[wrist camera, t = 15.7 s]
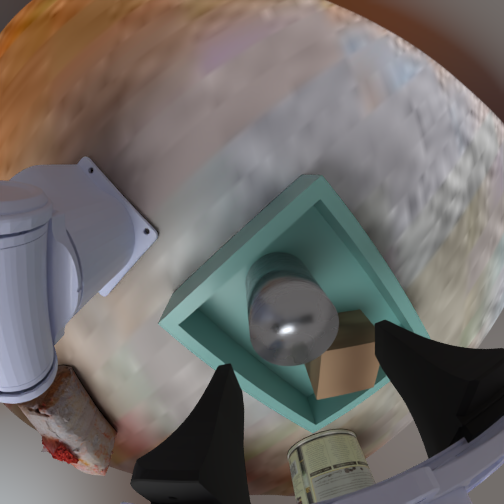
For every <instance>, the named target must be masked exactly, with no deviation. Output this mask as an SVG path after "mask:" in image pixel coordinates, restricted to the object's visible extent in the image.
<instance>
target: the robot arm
mask: <svg viewBox="0 0 504 504" xmlns="http://www.w3.org/2000/svg"><path fill="white" fill-rule="evenodd" d="M91 168H93V173H91ZM145 228H148V229H149V231H150V233H149V234H147V233H146V232H145ZM157 238H158V233H157V231H156V230H155V229H154V228H153V227H152V226H151V225H150V224H149V223H148V222H147V221H146V220H145V218H144V217H143V216H142V215H141V214H140V213H139V212H138V211H137V210H136V209H135V208H134V207H133V206H132V205H131V204H130V202H129V201H128V200H127V199H126V198H125V197H124V196H123V195H122V194H121V193H120V192H119V190H118V189H117V188H116V187H115V186H114V185H113V184H112V183H111V182H110V181H109V179H108V178H107V177H106V176H105V175H104V174H103V173H102V171H101V170H100V169H99V168H98V167H97V166H96V165H95V163H94V162H93V161H92V160H91V159H90V158H89V157H83V158H81V160H80V161H79V162H78V164H61V165H35V166H31V167H28V168H26V169H24V170H22V171H21V172H19V173H18V174H16V175H15V176H14V177H12V178H11V179H10V180H9V181H3V180H0V402H2V403H22V402H26V401H30V400H32V399H34V398H36V397H38V396H40V395H41V394H43V393H44V392H45V391H46V390H47V389H48V388H49V387H50V385H51V384H52V383H53V381H54V379H55V377H56V373H57V369H58V360H57V355H56V351H55V347H54V345H55V344H56V343H57V342H58V341H59V340H60V338H61V337H62V336H63V335H64V328H65V325H66V324H67V323H68V321H69V320H70V319H71V318H72V317H73V316H74V315H75V314H76V313H77V312H78V311H79V310H80V309H81V308H82V307H83V306H84V305H85V304H86V303H87V302H88V301H89V300H90V299H91V298H92V297H93V296H94V295H95V294H97V293H98V292H99V293H100V294H101V295H102V296H107V295H108V294H109V293H110V292H111V290H112V289H113V288H114V287H115V286H116V285H117V283H118V282H119V281H120V280H121V279H122V278H123V276H124V275H125V274H126V273H127V272H128V271H129V270H130V268H131V267H132V266H133V265H134V264H135V263H136V262H137V260H138V259H139V258H140V257H141V256H142V255H143V254H144V253H145V252H146V251H147V249H148V248H149V247H150V246H151V245H152V244H153V243H154V242H155V241H156V240H157ZM375 356H376V358H377V360H378V362H379V364H380V366H381V368H382V370H383V371H384V372H385V374H386V375H387V377H388V378H389V380H390V381H391V383H392V384H393V385H394V387H395V388H396V390H397V391H398V393H399V394H400V395H401V397H402V398H403V400H404V402H405V403H406V405H407V407H408V409H409V411H410V413H411V415H412V417H413V419H414V421H415V424H416V426H417V428H418V430H419V433H420V435H421V438H422V441H423V443H424V446H425V449H426V452H427V455H428V458H429V459H427V460H426V461H424V462H422V463H420V464H418V465H416V466H414V467H412V468H410V469H408V470H406V471H404V472H402V473H400V474H397V475H396V476H393V477H391V478H388V479H386V480H384V481H381V482H379V483H376V484H374V485H371V486H369V487H366V488H363V489H360V490H357V491H354V492H351V493H348V494H345V495H342V496H339V497H335V498H332V499H328V500H324V501H320V502H316V503H312V504H473V503H472V501H471V499H470V497H469V495H468V494H467V493H468V492H470V491H471V490H472V489H474V488H475V487H476V486H477V485H479V484H480V483H481V482H482V481H484V480H485V479H486V478H487V477H488V476H490V475H491V474H492V473H493V472H494V471H496V470H497V469H498V468H499V467H500V466H501V465H502V464H503V463H504V349H503V348H498V349H473V348H464V347H457V346H452V345H448V344H444V343H440V342H437V341H434V340H431V339H428V338H426V337H423V336H421V335H418V334H416V333H413V332H411V331H409V330H407V329H405V328H403V327H400V326H398V325H396V324H394V323H392V322H390V321H388V320H382V321H380V322H377V323H375ZM243 440H244V403H243V394H242V390H241V387H240V385H239V382H238V380H237V378H236V375H235V373H234V370H233V367H232V365H231V363H229V364H224V365H219V366H218V367H217V369H216V371H215V373H214V375H213V377H212V379H211V381H210V383H209V385H208V387H207V388H206V390H205V392H204V394H203V395H202V397H201V399H200V400H199V402H198V403H197V405H196V406H195V408H194V409H193V411H192V412H191V413H190V415H189V416H188V417H187V418H186V420H185V421H184V422H183V423H182V424H181V425H180V426H179V427H178V429H177V430H175V431H174V432H173V433H172V434H171V435H170V436H169V437H168V438H167V439H166V440H165V441H164V442H162V443H161V444H160V445H158V446H157V447H156V448H154V449H153V450H152V451H150V452H148V453H147V454H145V455H144V456H142V457H141V458H139V459H137V461H136V464H135V466H134V470H133V475H132V479H131V483H130V484H131V486H132V488H133V489H134V490H135V491H136V492H138V493H139V494H140V495H142V496H143V497H145V498H146V499H147V500H149V501H150V502H151V504H251V503H250V497H249V491H248V485H247V477H246V470H245V461H244V448H243ZM121 504H133V503H127V502H121Z"/></svg>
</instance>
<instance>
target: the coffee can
mask: <svg viewBox="0 0 504 504" xmlns="http://www.w3.org/2000/svg"><path fill="white" fill-rule="evenodd" d="M287 458H288V461H289V465H290V471H291V476H292V481H293V486H294V492H295V497H296V502H297V504H312V503H316V502H320V501H324V500H328V499H332V498H335V497H339V496H342V495H345V494H348V493H351V492H354V491H357V490H360V489H363V488H366V487H369V486H371V485H374V484H376V483H375V481H374V479H373V476H372V474H371V472H370V469H369V467H368V464H367V462H366V459H365V457H364V455H363V452H362V450H361V448H360V445H359V443H358V441H357V437H356V435H355V434H354V433H353V432H352V431H349V430H343V429H338V430H329V431H324V432H321V433H317V434H314V435H312V436H309V437H307V438H305V439H303V440H301V441H299V442H298V443H296V444H295V445H294V446H293V447H292V448H291V449H290V450H289V452H288V455H287Z"/></svg>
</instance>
